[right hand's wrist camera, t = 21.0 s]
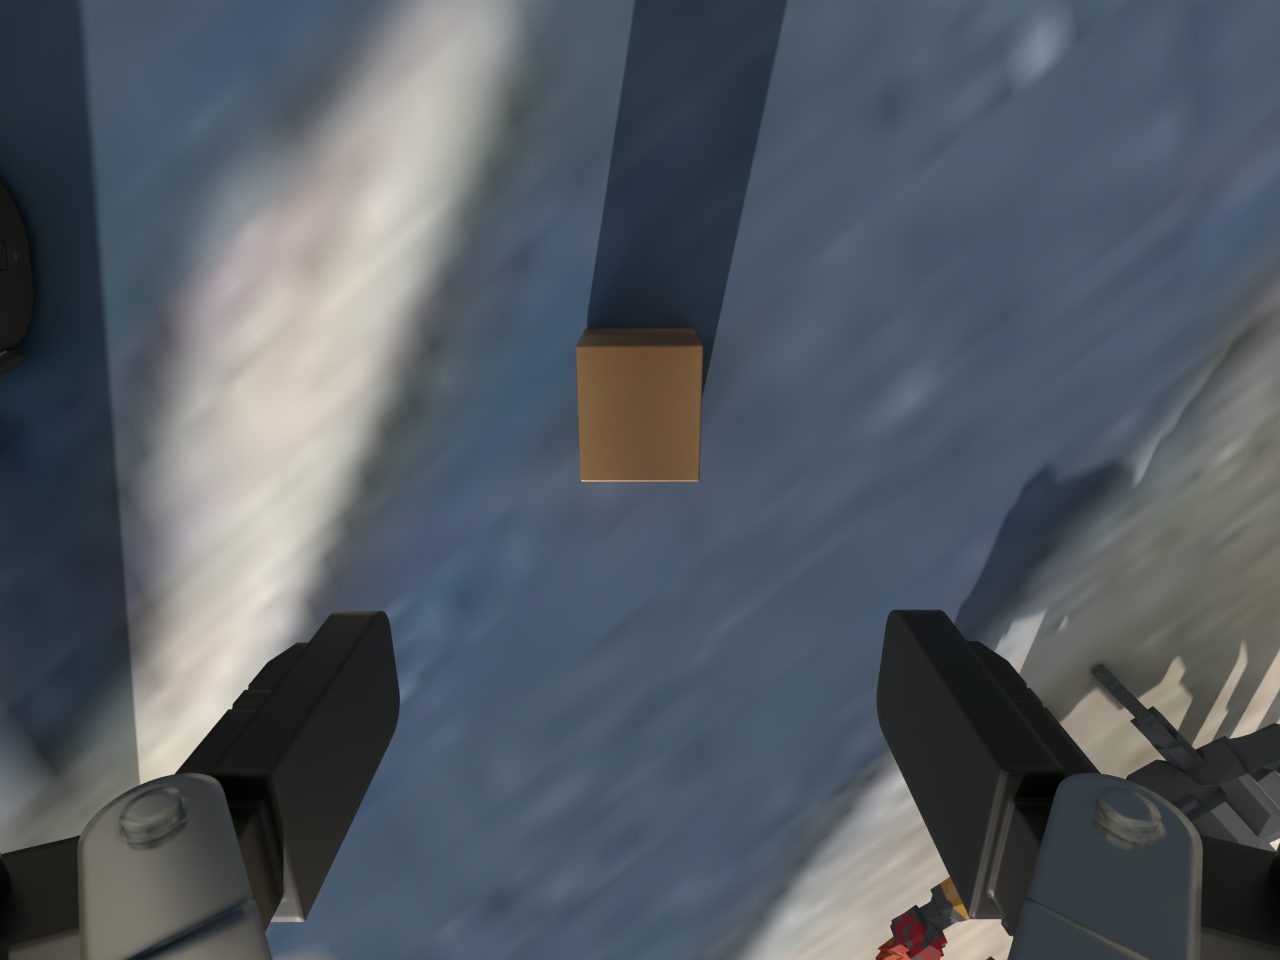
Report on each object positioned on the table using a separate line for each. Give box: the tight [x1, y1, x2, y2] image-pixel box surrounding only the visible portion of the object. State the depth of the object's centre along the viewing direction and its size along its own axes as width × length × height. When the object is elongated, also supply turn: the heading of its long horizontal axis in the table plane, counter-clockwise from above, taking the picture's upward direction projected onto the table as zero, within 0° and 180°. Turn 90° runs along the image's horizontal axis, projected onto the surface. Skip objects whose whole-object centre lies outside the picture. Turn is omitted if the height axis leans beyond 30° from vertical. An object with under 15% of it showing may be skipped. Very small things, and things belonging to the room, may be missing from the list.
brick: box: [576, 328, 703, 481], centre depth 28 cm, size 4×5×4 cm
